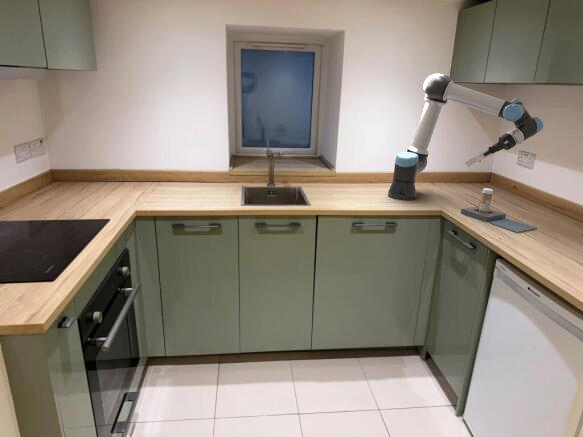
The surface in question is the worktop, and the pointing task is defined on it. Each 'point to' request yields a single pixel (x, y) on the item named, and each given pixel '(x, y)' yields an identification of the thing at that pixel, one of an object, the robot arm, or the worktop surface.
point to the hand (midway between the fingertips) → (471, 162)
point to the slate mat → (512, 225)
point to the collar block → (488, 217)
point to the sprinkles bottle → (485, 200)
